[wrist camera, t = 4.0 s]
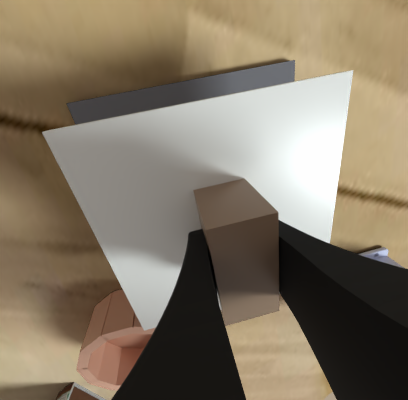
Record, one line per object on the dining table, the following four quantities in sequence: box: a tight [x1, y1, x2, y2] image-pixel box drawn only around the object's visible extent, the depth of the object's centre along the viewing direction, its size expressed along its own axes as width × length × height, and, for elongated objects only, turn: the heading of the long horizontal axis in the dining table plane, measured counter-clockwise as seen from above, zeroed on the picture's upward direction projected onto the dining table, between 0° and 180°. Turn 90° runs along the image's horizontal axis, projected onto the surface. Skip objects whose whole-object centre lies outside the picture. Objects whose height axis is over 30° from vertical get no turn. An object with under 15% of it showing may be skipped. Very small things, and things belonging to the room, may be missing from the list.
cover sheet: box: [42, 70, 353, 331], centre depth 9 cm, size 12×12×4 cm
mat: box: [66, 60, 295, 125], centre depth 16 cm, size 14×14×1 cm
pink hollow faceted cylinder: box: [77, 289, 155, 390], centre depth 20 cm, size 9×9×4 cm
